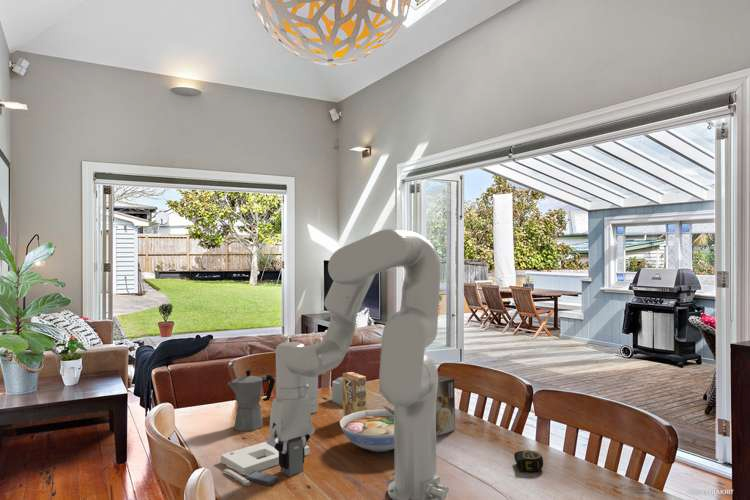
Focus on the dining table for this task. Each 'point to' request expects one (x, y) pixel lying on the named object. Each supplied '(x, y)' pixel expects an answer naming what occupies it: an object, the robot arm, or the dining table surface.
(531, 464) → the tape measure
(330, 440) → the dining table surface
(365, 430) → the ramen bowl
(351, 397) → the candy box
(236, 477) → the grey thin stick
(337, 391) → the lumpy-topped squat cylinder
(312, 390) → the skincare box
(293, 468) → the block
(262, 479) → the phone
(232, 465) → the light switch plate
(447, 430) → the coffee box
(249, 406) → the coffeepot
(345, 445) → the dining table surface
